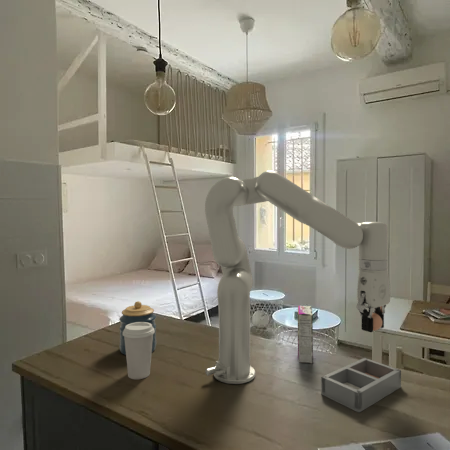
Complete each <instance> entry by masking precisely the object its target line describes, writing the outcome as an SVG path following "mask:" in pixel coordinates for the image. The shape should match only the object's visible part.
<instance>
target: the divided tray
mask: <svg viewBox="0 0 450 450" xmlns="http://www.w3.org/2000/svg"><path fill="white" fill-rule="evenodd" d="M320 380H321V387H320V388H321V389H320V390H321V391H320V392H321V395H322V396H324V397H326V398H327V399H330V400H333V401H334V402H336V403H338V404H340V405H342V406H344V407H346V408H348V409H350V410H353V411H355V413H362V412H363V411H364V410H366V409H368V408H369V407H371V406H373V405H374V404H376V403H378V402H380V401H381V400H382V399H384V398H386V397H387V396H389V395H391V394H392V393H394V392H395V391H398V390H399V389H400V388H402V370H401V369H398V368H395V367H392V366H390V365H387V364H385V363H381V362H378V361H375V360H374V359H373V360H372V359H370V358H366V357H363V358H361V359H359V360H356V361H354V362H352V363H349V364H348V365H345V366H343V367H340V368H338V369H336V370H334V371H331V372H330V373H328V374H325V375H321V379H320Z"/></svg>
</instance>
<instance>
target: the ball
mask: <svg viewBox="0 0 450 450" xmlns="http://www.w3.org/2000/svg"><path fill="white" fill-rule="evenodd" d="M371 318H373V332H376V331H378V330H380V329H382V328H381V327H382V319H381V317H380V316H379V315H378V314H376V313H372V317H371Z"/></svg>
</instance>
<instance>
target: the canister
mask: <svg viewBox="0 0 450 450" xmlns="http://www.w3.org/2000/svg"><path fill="white" fill-rule="evenodd" d="M154 311H155V310H154V308H153V307H150V306H149V305H147V304H142V302H141V301H139V300H137V301H135V302H134V304H133V305H129V306H127V307H126V308H124V309H123V310H122V311H121V314H122V315H121V316H120V317H119V318H118V319H119V322H120V326H119V350H120V353H121V354H123V355H124V356H126V349H125V339H124V336H123V335H122V334H123V331H124V329H125V326H126V325H128V324H131V323H135V322H148V323H151V324H152V327H153V328H154V330H155V333H154V334H153V341H152V353H153V352H154V351H156V349H157V348H156V347H157V324H156V319H157V315H156V314H155V313H154Z"/></svg>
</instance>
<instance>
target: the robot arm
mask: <svg viewBox="0 0 450 450" xmlns="http://www.w3.org/2000/svg"><path fill="white" fill-rule="evenodd" d="M266 202H268V203H270V204H271V205H273V206H275V208H278V209H279V210H281V211H282V212H284V213H285V214H287V215H288V216H290V217H291V218H293V219H295V220H296V221H298V222H299V223H301V224H303V225H306V226H308V227H310V228H312V229H314V230H315V231H316V232H318V233H320V234H321V235H323V236H325V238H327V239H329V240H330V241H331V242H333V243H334V244H335V245H337V246H338V247H340V248H342V249H346V250H351V249H355V248H357V247H358V271H359V272H358V277H357V278H358V279H357V289H356V290H357V294H356V298H357V305H356V309H357V310H358V311H359V313H360V317H361V330H362V331H364V332H367V333H374V331H373V318H371V317H372V313H376V314H378V315H379V316H380V317H381V319H382V327H381V328H380V329H383V328H385V313H386V309H385V308H386V306H387V305H388V304H390V303H391V287H390V275H389V270H388V267H389V266H388V263H389V261H388V259H389V257H388V256H389V255H388V254H389V253H388V252H389V251H388V246H389V245H388V244H389V243H388V239H389V237H388V232H389V231H388V229H389V228H388V225H387V223H385V222H382V221H365V222H364V221H362V222H355V221H354V220H353V219H351V218H350V217H347V216H346V215H345V214H343V213H341V212H340V211H338V210H336V209H335V208H334V207H332V206H330V205H328V204H326V203H325V202H324V201H322V200H321V199H319V197H317V196H315V195H313V194H311V193H310V192H309V191H307V190H306V189H303V188H302V187H300V186H299V185H297V184H296V183H295V182H293V181H291V180H290V179H288V178H286V177H285V176H284V175H282V174H280V173H278V172H276V171H273V170H266V171H263V172H262V173H260V174H259V175H258V176H255V177H248V178H243V179H242V178H241V179H239V178H237V177H234V176H226V177H223V178H221V179H219V180H218V181H216V182H215V183H214V184H213V185H212V186H211V188H210V189H209V191H208V193H207V194H206V198H205V202H204V213H205V220H206V225H207V230H208V236H209V241H210V245H211V246H210V247H211V252H212V257H213V260H214V261H215V263H216V264H217V265H218V266H220V269H221V272H222V276H221V278H220V280H219V281H218V284H217V285H218V286H217V292H216V294H217V296H216V297H217V305H218V307H217V308H218V360H215V364H214V365H213V366H212V367H208V368H206V369H205V370H204V371H205V375H206V376H207V377H208V376H212V375H213V377H214V379H216V380H218V381H219V382H222V383H224V384H231V385H240V384H241V385H242V384H246V383H249V382H250V381H252V380H253V379H254V378H255V377H256V370H255V369H254V367H252V366H251V306H250V305H251V304H250V303H251V301H250V300H251V299H250V298H251V297H250V296H251V292H252V288H253V283H254V282H253V276H252V274H253V273H252V270H251V265H250V260H249V256H248V252H247V247H246V244H245V242H244V241H243V239H241V237H239V234H238V229H237V225H236V220H235V216H234V207H241V206H246V205H253V204H260V203H266Z"/></svg>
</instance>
